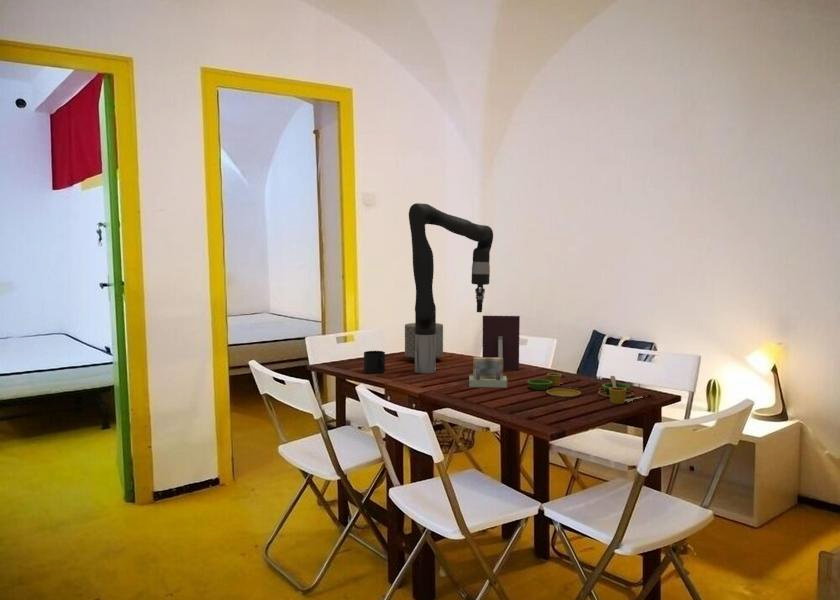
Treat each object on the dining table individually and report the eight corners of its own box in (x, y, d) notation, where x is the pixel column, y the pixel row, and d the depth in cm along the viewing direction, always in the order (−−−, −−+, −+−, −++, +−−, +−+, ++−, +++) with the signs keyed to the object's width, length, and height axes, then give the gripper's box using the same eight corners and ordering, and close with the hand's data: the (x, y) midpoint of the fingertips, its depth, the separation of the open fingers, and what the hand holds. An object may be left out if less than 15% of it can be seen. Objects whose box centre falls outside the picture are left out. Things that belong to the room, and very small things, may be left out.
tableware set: (652, 399, 235) (652, 382, 234) (603, 410, 219) (603, 392, 218) (567, 381, 268) (567, 366, 268) (518, 389, 252) (519, 373, 252)
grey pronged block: (469, 387, 254) (469, 369, 254) (469, 382, 263) (469, 365, 263) (507, 387, 253) (507, 370, 253) (505, 383, 262) (506, 366, 262)
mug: (374, 375, 279) (374, 355, 278) (359, 371, 288) (359, 351, 288) (392, 373, 285) (392, 353, 284) (377, 369, 294) (377, 350, 293)
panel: (473, 378, 257) (473, 358, 256) (473, 376, 261) (473, 357, 260) (503, 379, 256) (503, 359, 255) (502, 377, 260) (502, 357, 259)
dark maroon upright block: (518, 369, 293) (519, 315, 291) (520, 373, 283) (520, 317, 281) (482, 369, 294) (482, 315, 292) (482, 373, 285) (482, 317, 283)
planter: (450, 360, 318) (450, 324, 317) (424, 365, 304) (424, 327, 303) (423, 356, 331) (423, 321, 330) (396, 361, 317) (396, 324, 316)
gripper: (489, 273, 260) (488, 313, 261) (489, 272, 274) (488, 310, 275) (471, 273, 261) (470, 312, 262) (472, 272, 275) (470, 309, 276)
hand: (479, 311), depth 268 cm, fingers open, 8 cm apart
